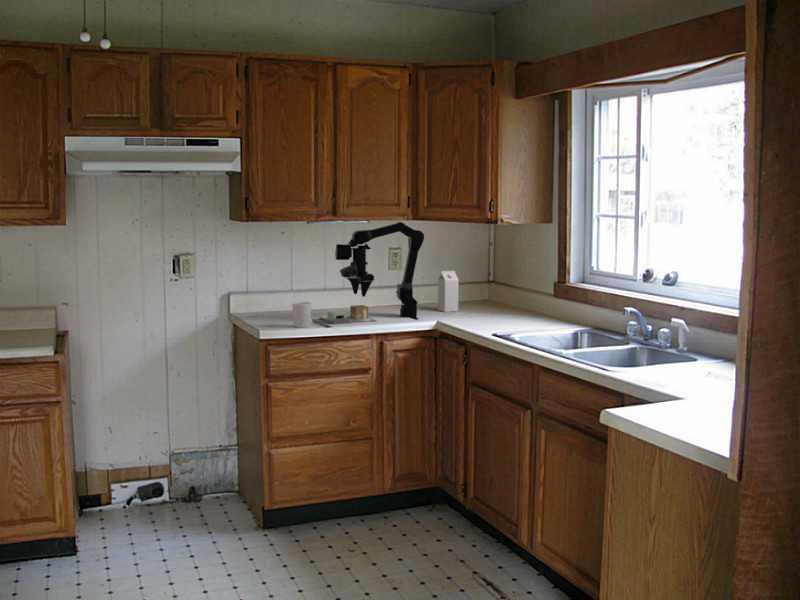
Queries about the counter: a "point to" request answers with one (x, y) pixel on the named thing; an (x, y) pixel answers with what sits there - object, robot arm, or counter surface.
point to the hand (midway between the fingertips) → (359, 295)
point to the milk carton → (448, 291)
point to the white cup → (301, 314)
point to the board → (342, 320)
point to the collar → (358, 311)
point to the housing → (336, 315)
